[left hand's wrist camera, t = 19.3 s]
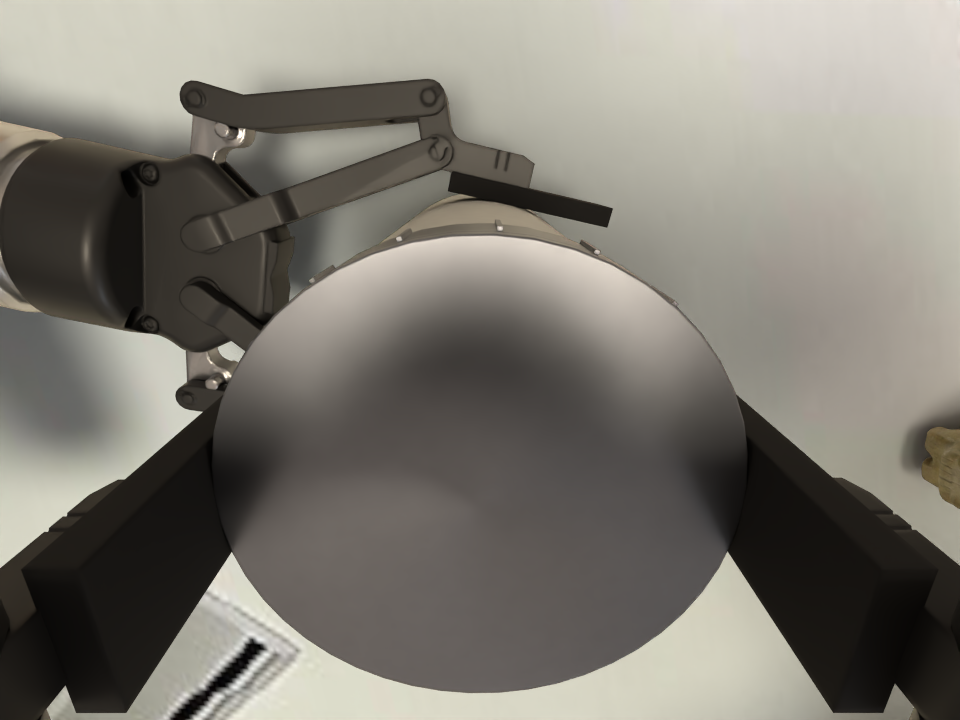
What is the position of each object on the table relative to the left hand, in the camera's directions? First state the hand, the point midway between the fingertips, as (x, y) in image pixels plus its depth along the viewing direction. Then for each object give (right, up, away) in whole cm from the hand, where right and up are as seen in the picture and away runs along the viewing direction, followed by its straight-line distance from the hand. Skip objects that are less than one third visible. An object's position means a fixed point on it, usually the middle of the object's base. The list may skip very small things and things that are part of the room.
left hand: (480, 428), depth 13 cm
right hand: (+4, +3, +10) cm, 11 cm away
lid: (0, -1, -3) cm, 3 cm away
